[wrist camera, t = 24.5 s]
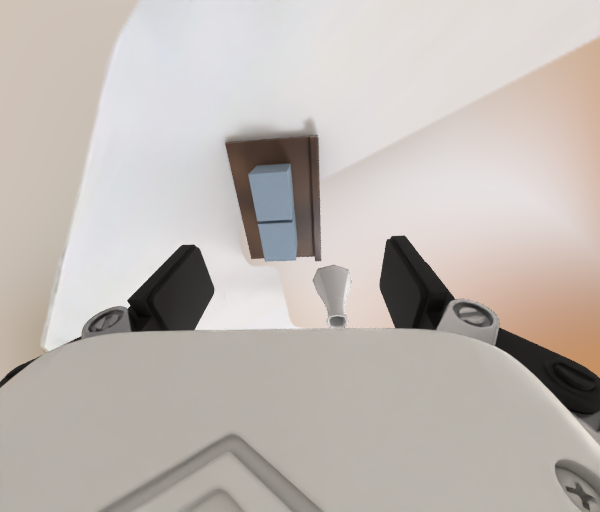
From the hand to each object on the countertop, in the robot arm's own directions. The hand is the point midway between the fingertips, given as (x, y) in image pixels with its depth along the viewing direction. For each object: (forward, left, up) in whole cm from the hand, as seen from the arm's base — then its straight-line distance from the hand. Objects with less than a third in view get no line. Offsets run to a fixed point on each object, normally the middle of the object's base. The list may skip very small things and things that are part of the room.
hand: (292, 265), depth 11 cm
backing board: (+5, -4, -23) cm, 24 cm away
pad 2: (+8, -4, -22) cm, 24 cm away
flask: (+20, +4, -24) cm, 31 cm away
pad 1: (+2, -4, -22) cm, 23 cm away
